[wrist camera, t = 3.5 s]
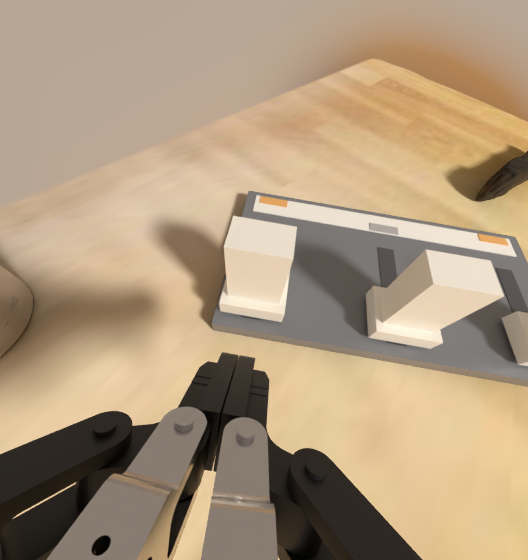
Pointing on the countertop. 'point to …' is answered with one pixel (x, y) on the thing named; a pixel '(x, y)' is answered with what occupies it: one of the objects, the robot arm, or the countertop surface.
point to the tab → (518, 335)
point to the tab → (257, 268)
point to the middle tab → (430, 298)
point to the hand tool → (505, 179)
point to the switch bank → (382, 272)
